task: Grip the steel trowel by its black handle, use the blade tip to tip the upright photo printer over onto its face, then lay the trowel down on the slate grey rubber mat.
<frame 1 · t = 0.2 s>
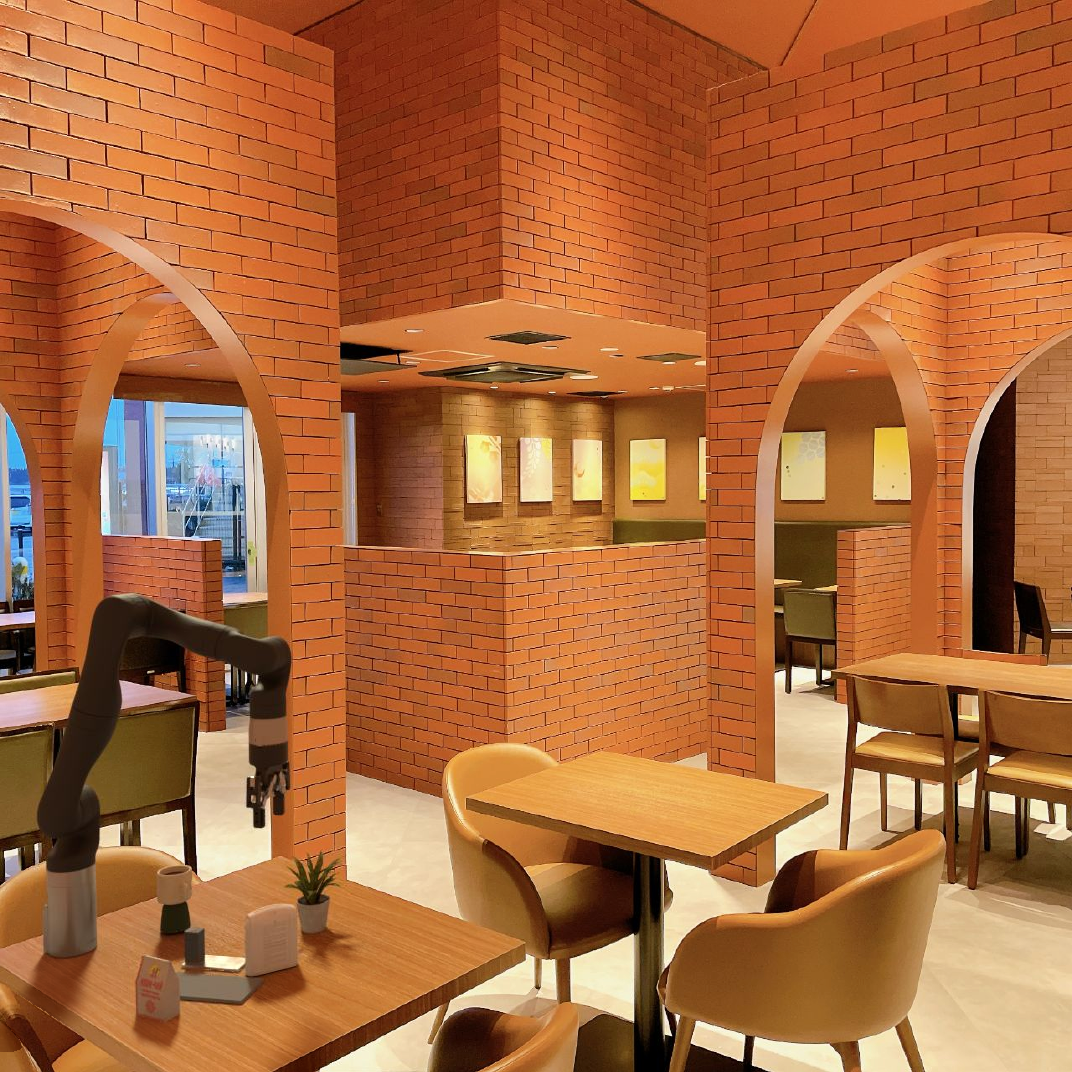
hand: (269, 821, 198), 28 cm above the table, tool pointing down, fingers open, 8 cm apart
tea bag: (158, 1015, 179), on the table
photo printer: (272, 970, 197), on the table
house plant: (316, 931, 215), on the table
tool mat: (208, 989, 188), on the table
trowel: (202, 964, 200), on the table
character mug: (175, 931, 216), on the table
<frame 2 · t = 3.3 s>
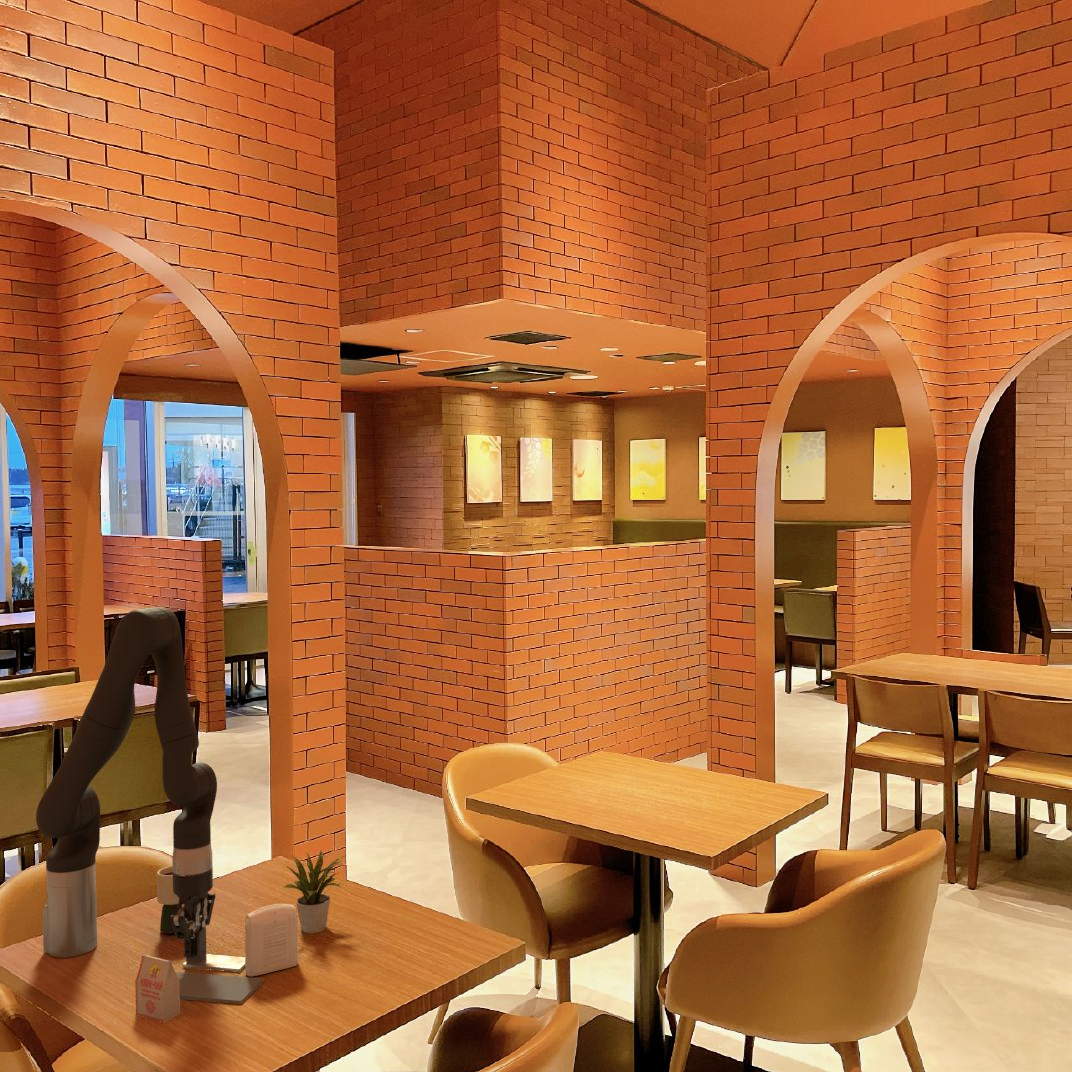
hand: (194, 953, 200), 2 cm above the table, tool pointing down, fingers closed on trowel
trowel: (203, 963, 200), on the table, touching gripper
everything else where it was.
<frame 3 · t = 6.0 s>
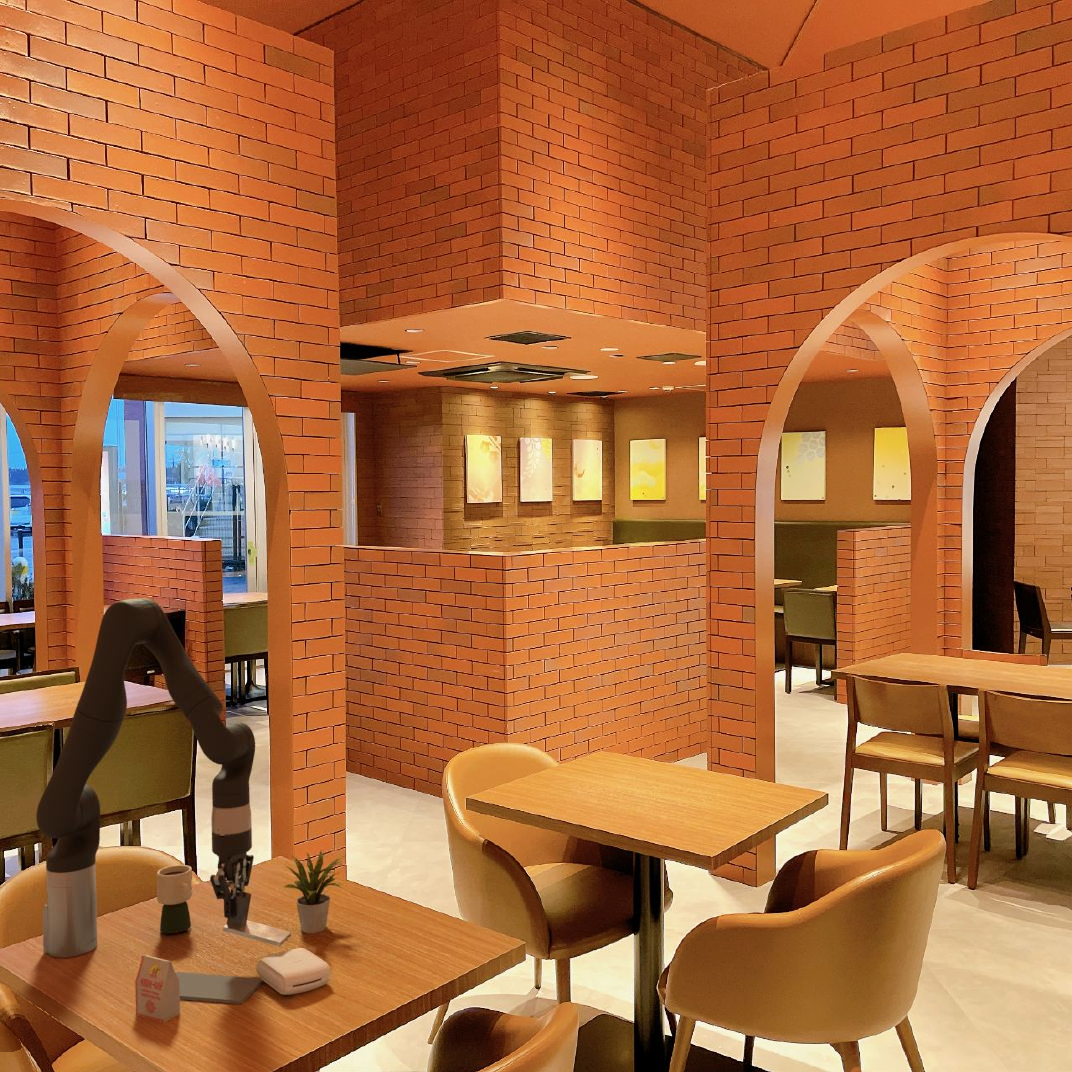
hand: (233, 914, 198), 10 cm above the table, tool pointing down, fingers closed on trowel
photo printer: (280, 961, 195), point 2 cm above the table, touching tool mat
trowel: (242, 929, 198), point 7 cm above the table, tilted 11°, touching gripper
everything else where it was.
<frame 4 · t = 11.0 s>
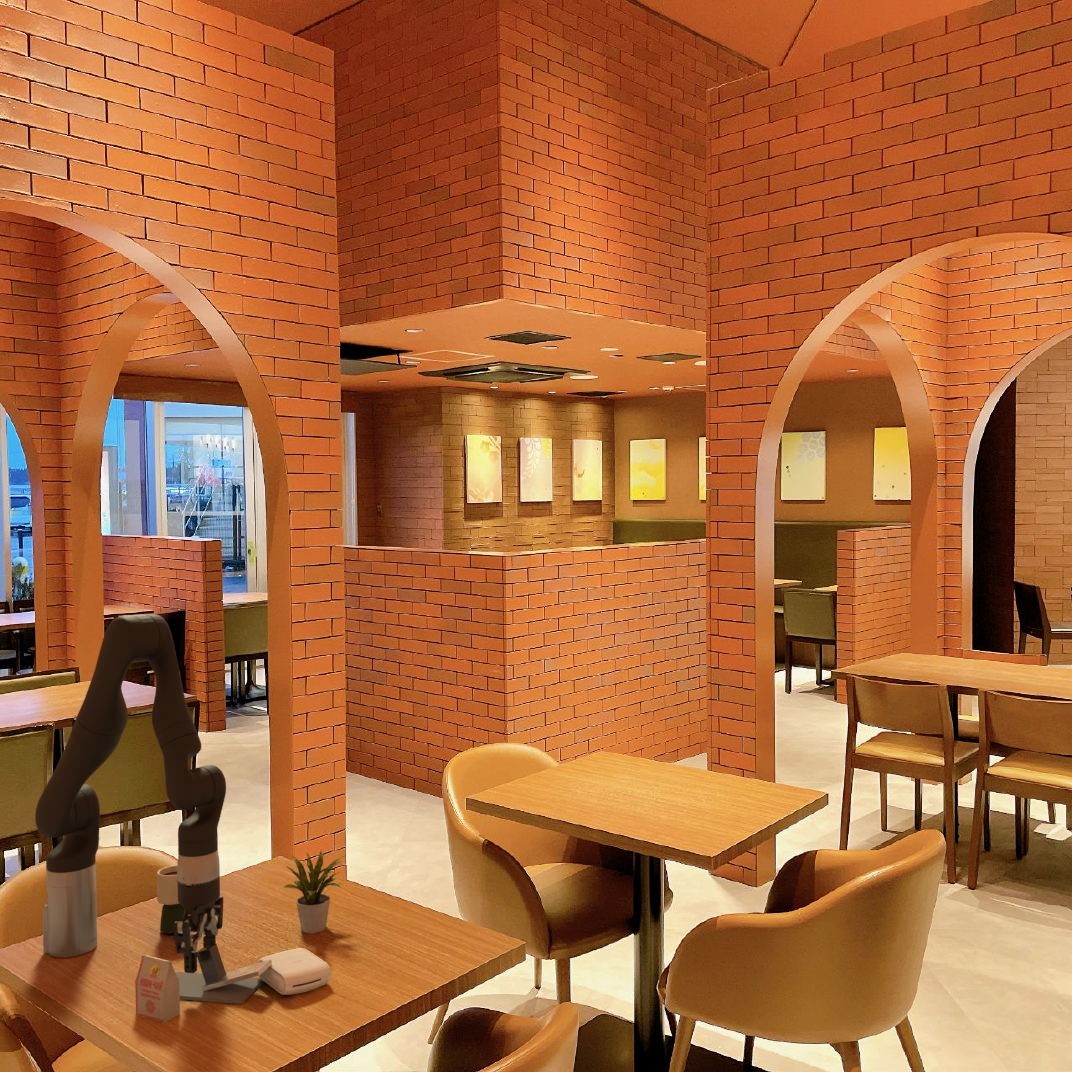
hand: (200, 963, 189), 5 cm above the table, tool pointing down, fingers open, 6 cm apart
photo printer: (280, 961, 195), point 2 cm above the table, touching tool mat, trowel
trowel: (224, 981, 188), point 2 cm above the table, tilted 19°, touching photo printer, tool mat
everything else where it was.
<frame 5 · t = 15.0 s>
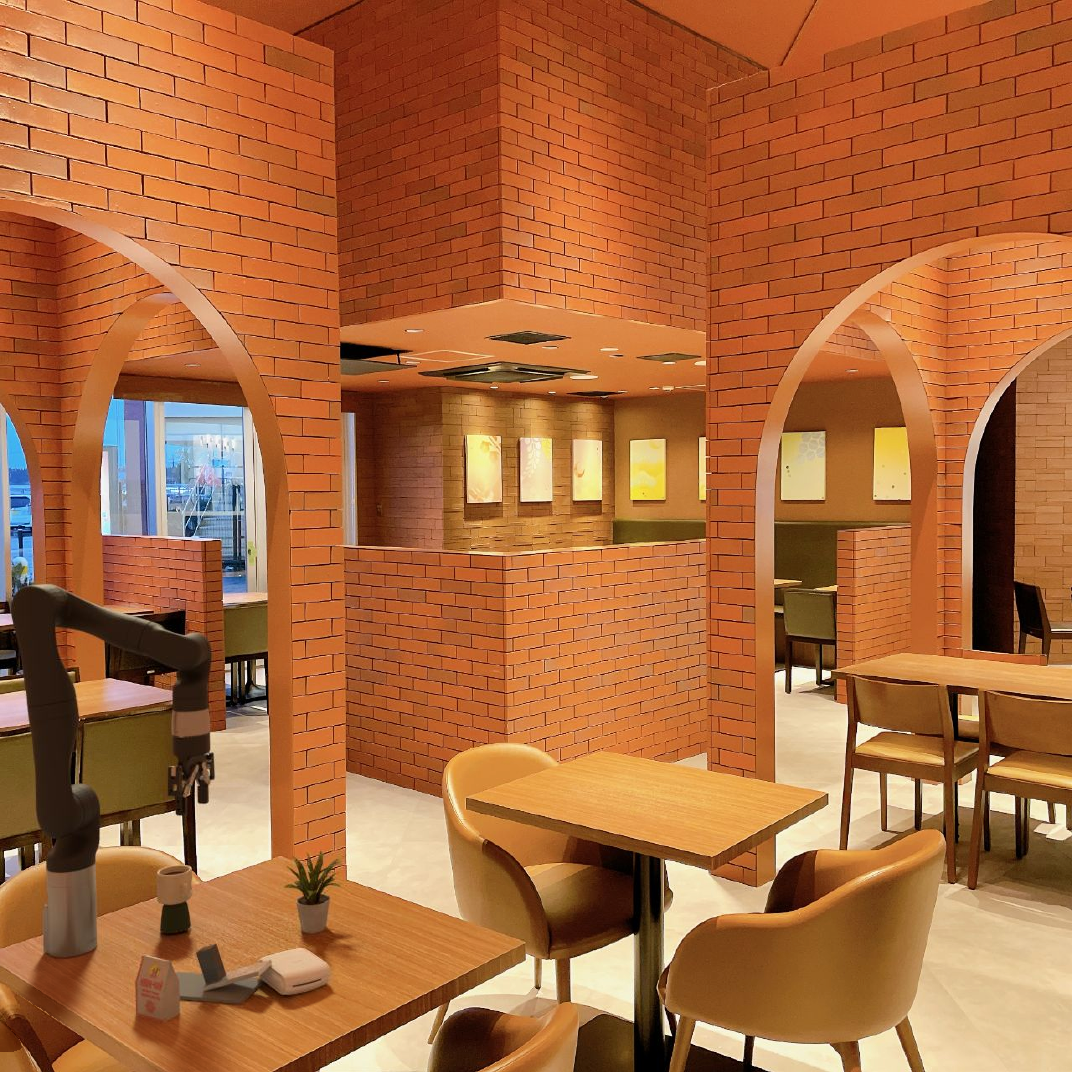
hand: (192, 809, 208), 28 cm above the table, tool pointing down, fingers open, 8 cm apart
nothing on the table moved.
at the end: photo printer tilted 90°; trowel inside the target area on the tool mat (3.2 cm from its centre), point 1.6 cm above the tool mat's base; the gripper is holding nothing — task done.
